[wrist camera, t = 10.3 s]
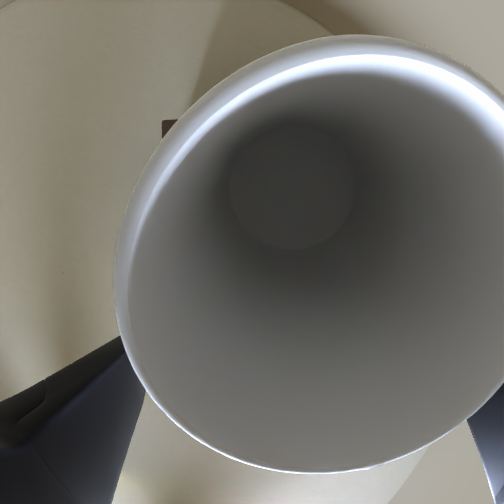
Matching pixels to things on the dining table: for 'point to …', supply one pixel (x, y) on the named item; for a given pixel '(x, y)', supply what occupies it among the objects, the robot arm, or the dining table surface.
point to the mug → (321, 256)
